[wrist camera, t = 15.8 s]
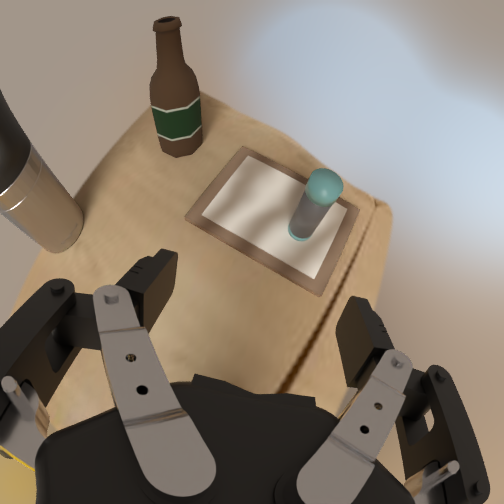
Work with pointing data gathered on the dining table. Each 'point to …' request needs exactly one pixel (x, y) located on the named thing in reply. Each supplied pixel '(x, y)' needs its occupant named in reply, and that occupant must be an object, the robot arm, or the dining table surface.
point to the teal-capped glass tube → (315, 203)
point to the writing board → (272, 220)
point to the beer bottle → (174, 93)
